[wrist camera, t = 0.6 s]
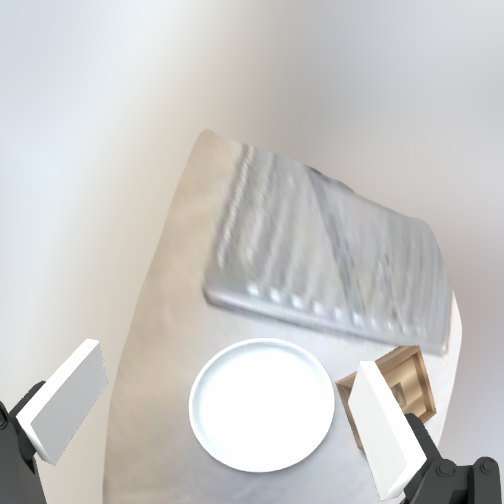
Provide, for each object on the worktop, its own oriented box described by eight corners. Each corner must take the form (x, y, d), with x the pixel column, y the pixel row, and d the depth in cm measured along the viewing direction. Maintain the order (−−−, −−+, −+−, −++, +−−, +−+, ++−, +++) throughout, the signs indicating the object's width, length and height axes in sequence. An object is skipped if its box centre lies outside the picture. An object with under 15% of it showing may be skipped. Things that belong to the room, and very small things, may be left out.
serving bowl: (296, 319, 48) (309, 317, 41) (333, 428, 43) (349, 439, 37) (173, 360, 43) (167, 364, 37) (218, 470, 39) (219, 489, 32)
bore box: (417, 408, 45) (436, 413, 40) (358, 447, 42) (373, 457, 37) (399, 346, 49) (419, 345, 43) (335, 382, 45) (350, 387, 40)
